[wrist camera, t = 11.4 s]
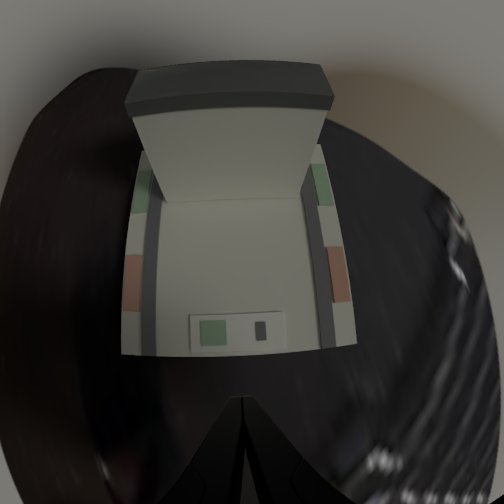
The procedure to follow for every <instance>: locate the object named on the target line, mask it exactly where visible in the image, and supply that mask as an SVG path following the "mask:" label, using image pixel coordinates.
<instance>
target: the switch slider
mask: <svg viewBox="0 0 504 504" xmlns="http://www.w3.org/2000/svg"><path fill="white" fill-rule="evenodd" d="M334 97H335V96H334V93H333V91H332V89H331V87H330V84H329V82H328V80H327V78H326V76H325V74H324V72H323V70H322V68H321V66H320V65H318V64H311V63H300V62H288V61H268V60H267V61H266V60H229V61H209V62H196V63H186V64H177V65H169V66H162V67H156V68H150V69H144V70H139V71H138V73H137V75H136V77H135V79H134V82H133V84H132V86H131V88H130V91H129V93H128V96H127V98H126V100H125V103H124V104H125V107H126V110H127V112H128V115H129V118H130V117H132V118H133V121H134V124H135V126H136V129H137V132H138V134H139V137H140V139H141V142H142V144H143V147H144V149H145V152H146V154H147V157H148V159H149V162H150V164H151V167H152V169H153V172H154V174H155V176H156V179H157V181H158V183H159V186H160V188H161V190H162V193H163V195H164V197H165V200H166V202H167V203H169V202H184V201H201V200H221V199H247V198H298V195H299V193H300V190H301V187H302V184H303V181H304V178H305V175H306V172H307V170H308V167H309V164H310V161H311V158H312V155H313V152H314V149H315V146H316V143H317V140H318V137H319V134H320V131H321V128H322V125H323V122H324V119H325V116H326V113H327V110H330V109H331V106H332V103H333V100H334Z"/></svg>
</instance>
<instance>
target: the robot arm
mask: <svg viewBox="0 0 504 504" xmlns="http://www.w3.org/2000/svg"><path fill="white" fill-rule="evenodd" d="M242 409H243V411H242ZM243 424H244V426H243ZM244 438H245V440H244ZM245 448H246V453H247V457H248V461H249V465H250V469H251V473H252V477H253V481H254V485H255V488H256V492H257V496H258V500H259V503H260V504H356V503H354V502H353V501H351V500H350V499H349V498H347V497H346V496H345V495H343V494H342V493H341V492H339V491H338V490H337V489H335V488H334V487H333V486H332V485H330V484H329V483H328V482H327V481H326V480H325V479H324V478H322V477H321V476H320V475H319V474H318V473H317V472H316V471H315V470H314V469H313V468H312V467H311V466H310V464H309V463H308V462H307V461H306V460H305V459H303V457H302V456H301V454H300V453H299V452H298V451H297V450H296V449H295V447H294V446H293V445H292V444H291V443H290V441H289V440H288V439H287V438H286V436H285V435H284V434H283V433H282V432H281V430H280V429H279V428H278V427H277V425H276V424H275V423H274V422H273V420H272V419H271V418H270V416H269V415H268V414H267V413H266V411H265V410H264V409H263V407H262V406H261V405H260V403H259V402H258V401H257V399H256V398H255V397H254V396H252V395H250V396H242V397H241V396H231V397H229V399H228V400H227V402H226V404H225V405H224V407H223V409H222V411H221V412H220V414H219V416H218V417H217V419H216V421H215V423H214V424H213V426H212V428H211V429H210V431H209V433H208V434H207V436H206V437H205V439H204V441H203V442H202V444H201V446H200V447H199V449H198V450H197V452H196V454H195V455H194V457H193V458H192V460H191V462H190V465H188V466H187V467H186V469H185V471H184V472H183V474H182V475H181V476H180V478H179V479H178V481H177V482H176V483H175V485H174V486H173V487H172V488H171V489H170V490H169V492H168V493H167V494H166V495H165V496H164V497H163V498H162V499H161V500H160V501H159V502H158V503H157V504H240V498H241V487H242V476H243V465H244V453H245ZM490 504H504V495H502V496H501V497H499V498H498V499H496V500H495V501H493V502H492V503H490Z"/></svg>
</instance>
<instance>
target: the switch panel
mask: <svg viewBox="0 0 504 504" xmlns="http://www.w3.org/2000/svg"><path fill="white" fill-rule="evenodd" d="M351 344H357V340H356V330H355V321H354V313H353V305H352V297H351V290H350V283H349V276H348V270H347V264H346V258H345V252H344V246H343V241H342V236H341V230H340V225H339V220H338V215H337V211H336V206H335V202H334V197H333V193H332V188H331V184H330V180H329V176H328V172H327V168H326V164H325V160H324V156H323V153H322V149H321V145H320V144H316V146H315V149H314V152H313V155H312V158H311V161H310V164H309V167H308V170H307V172H306V175H305V178H304V181H303V184H302V187H301V190H300V193H299V195H298V198H247V199H221V200H201V201H184V202H169V203H167V202H166V200H165V197H164V195H163V193H162V190H161V188H160V186H159V183H158V181H157V179H156V176H155V174H154V172H153V169H152V167H151V164H150V162H149V159H148V157H147V154H146V152H145V151H142V153H141V157H140V162H139V167H138V172H137V177H136V182H135V188H134V193H133V199H132V205H131V212H130V219H129V226H128V234H127V243H126V252H125V263H124V275H123V291H122V315H121V354H126V355H142V356H171V357H215V356H243V355H260V354H274V353H286V352H296V351H306V350H314V349H323V348H331V347H337V346H344V345H351Z"/></svg>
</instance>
